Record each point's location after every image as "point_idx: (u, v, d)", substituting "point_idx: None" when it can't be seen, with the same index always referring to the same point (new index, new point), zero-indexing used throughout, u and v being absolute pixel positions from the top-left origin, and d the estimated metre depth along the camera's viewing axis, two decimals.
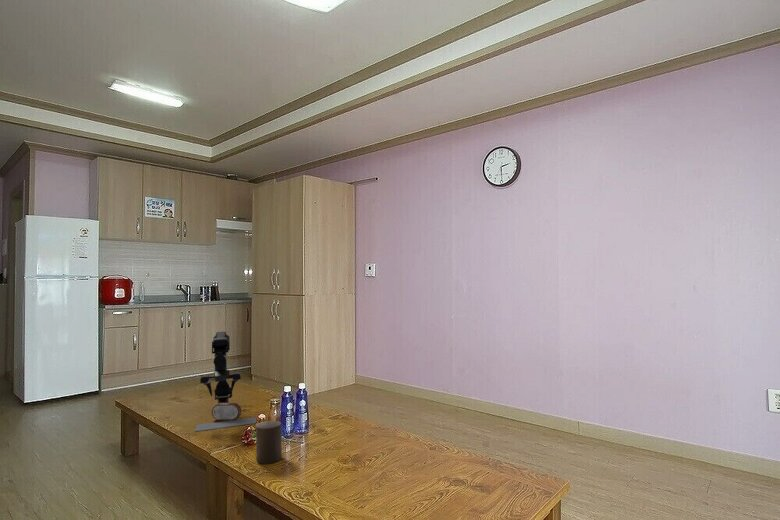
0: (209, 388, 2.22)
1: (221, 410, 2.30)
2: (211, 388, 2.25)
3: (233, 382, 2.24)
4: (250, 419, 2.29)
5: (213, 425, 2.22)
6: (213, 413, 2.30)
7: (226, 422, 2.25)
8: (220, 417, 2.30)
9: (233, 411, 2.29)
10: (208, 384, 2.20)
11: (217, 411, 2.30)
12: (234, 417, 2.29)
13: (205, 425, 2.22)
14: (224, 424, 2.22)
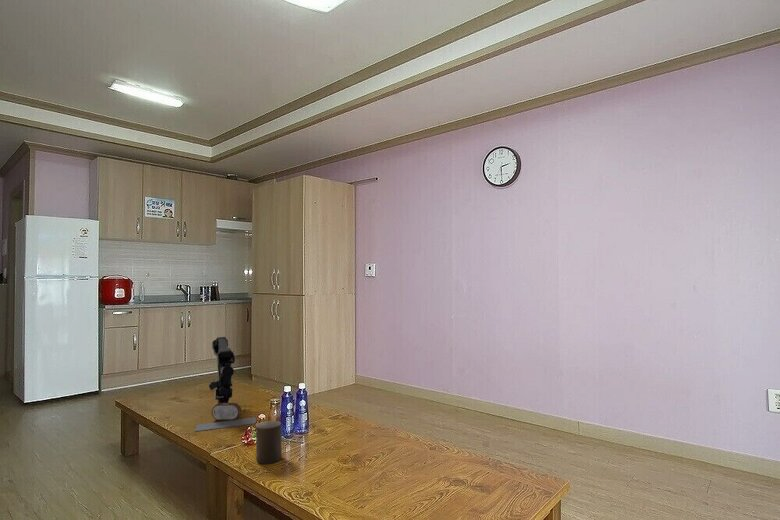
0: None
1: (221, 410, 2.30)
2: None
3: None
4: (250, 419, 2.29)
5: (213, 425, 2.22)
6: (213, 413, 2.30)
7: (226, 422, 2.25)
8: (220, 417, 2.30)
9: (233, 411, 2.29)
10: None
11: (217, 411, 2.30)
12: (234, 417, 2.29)
13: (205, 425, 2.22)
14: (224, 424, 2.22)
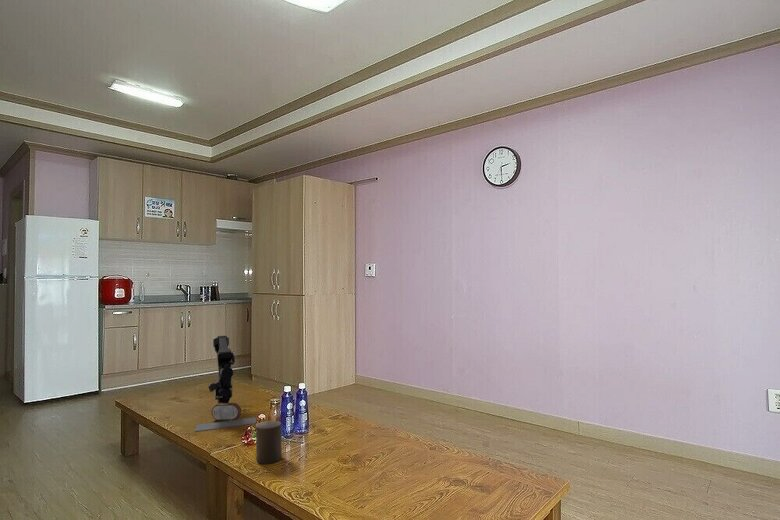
0: None
1: (221, 410, 2.29)
2: None
3: None
4: (250, 419, 2.29)
5: (213, 425, 2.22)
6: (213, 413, 2.30)
7: (226, 422, 2.25)
8: (220, 418, 2.30)
9: (233, 411, 2.29)
10: None
11: (217, 411, 2.30)
12: (234, 417, 2.29)
13: (205, 425, 2.22)
14: (224, 424, 2.22)
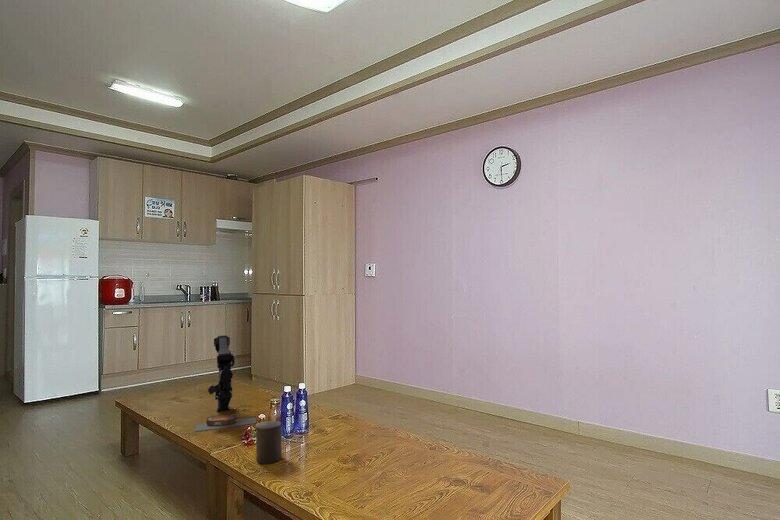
0: None
1: None
2: None
3: None
4: (250, 419, 2.29)
5: (213, 425, 2.22)
6: None
7: None
8: None
9: None
10: None
11: None
12: None
13: (205, 425, 2.22)
14: None
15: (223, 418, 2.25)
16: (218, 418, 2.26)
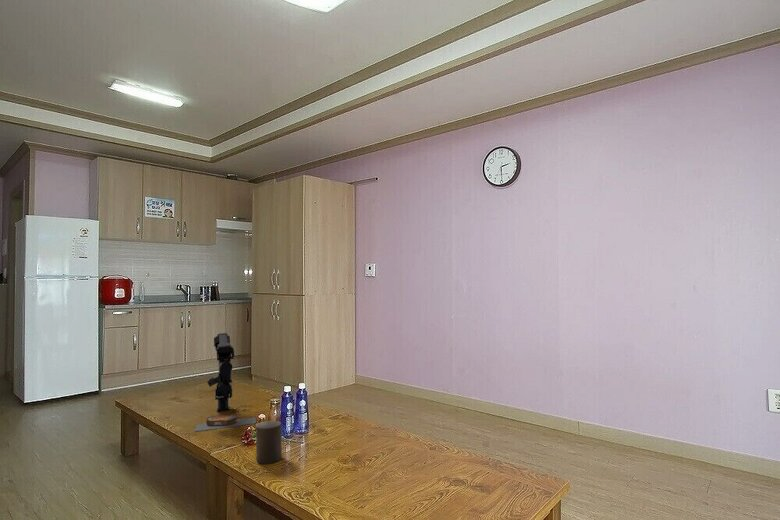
0: None
1: None
2: (228, 393, 2.28)
3: None
4: (250, 419, 2.29)
5: (213, 425, 2.22)
6: None
7: None
8: None
9: None
10: None
11: None
12: None
13: (205, 425, 2.22)
14: None
15: (223, 418, 2.25)
16: (218, 418, 2.26)
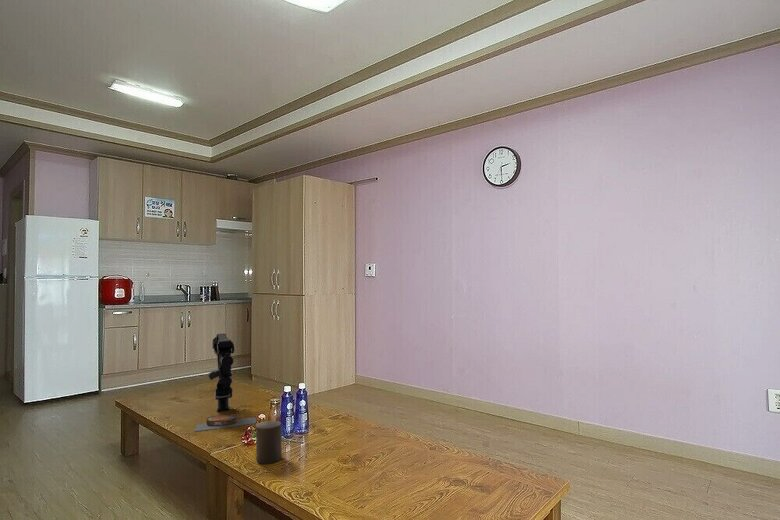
0: None
1: None
2: None
3: None
4: (250, 419, 2.29)
5: (213, 425, 2.22)
6: None
7: None
8: None
9: None
10: None
11: None
12: None
13: (205, 425, 2.22)
14: None
15: (223, 418, 2.25)
16: (218, 418, 2.26)
